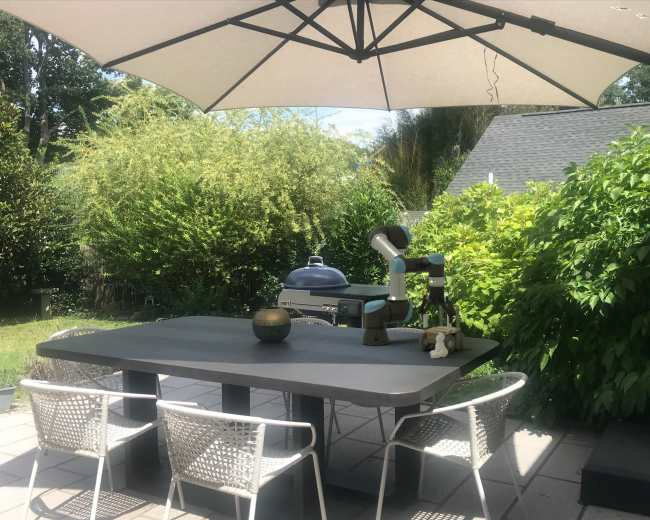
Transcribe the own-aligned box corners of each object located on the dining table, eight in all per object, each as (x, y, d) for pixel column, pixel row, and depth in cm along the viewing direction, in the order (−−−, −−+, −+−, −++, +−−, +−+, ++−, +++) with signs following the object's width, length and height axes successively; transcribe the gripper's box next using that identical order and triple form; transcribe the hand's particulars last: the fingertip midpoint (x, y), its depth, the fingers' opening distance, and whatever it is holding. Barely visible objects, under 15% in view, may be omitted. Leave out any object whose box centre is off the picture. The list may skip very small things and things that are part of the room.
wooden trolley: (446, 354, 314) (445, 309, 313) (419, 351, 324) (417, 307, 323) (465, 348, 328) (464, 304, 327) (439, 345, 338) (438, 303, 337)
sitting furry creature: (429, 354, 315) (429, 330, 315) (447, 354, 314) (446, 330, 314) (431, 358, 306) (430, 333, 305) (449, 358, 305) (448, 333, 304)
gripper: (411, 284, 314) (411, 327, 316) (455, 287, 297) (455, 332, 299) (419, 283, 320) (420, 325, 321) (463, 286, 303) (463, 330, 304)
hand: (437, 328), depth 310 cm, fingers open, 13 cm apart
